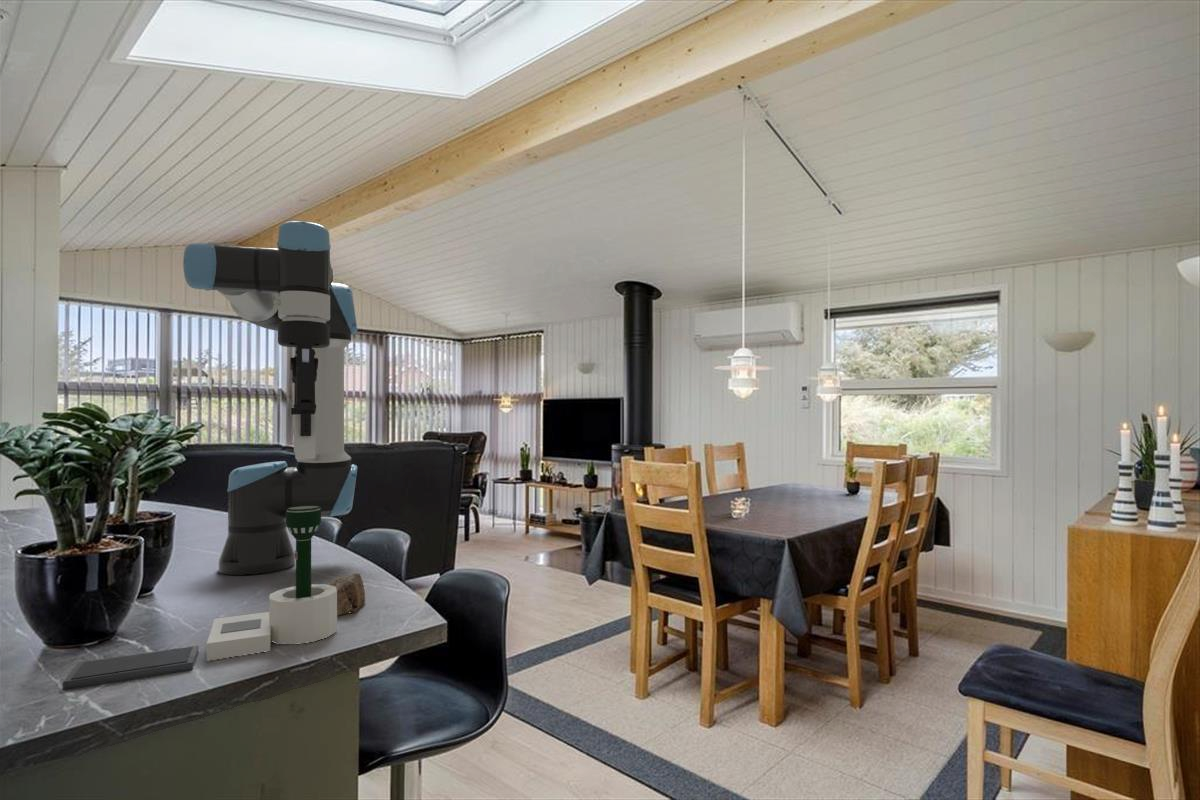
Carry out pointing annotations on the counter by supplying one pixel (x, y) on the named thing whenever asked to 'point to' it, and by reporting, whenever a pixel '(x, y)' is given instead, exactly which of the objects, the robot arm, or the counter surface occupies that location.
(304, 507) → the flashlight
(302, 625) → the block
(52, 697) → the counter surface
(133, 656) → the phone
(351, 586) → the rock
